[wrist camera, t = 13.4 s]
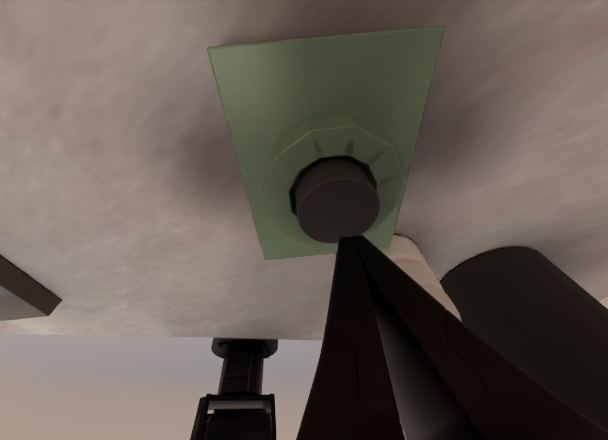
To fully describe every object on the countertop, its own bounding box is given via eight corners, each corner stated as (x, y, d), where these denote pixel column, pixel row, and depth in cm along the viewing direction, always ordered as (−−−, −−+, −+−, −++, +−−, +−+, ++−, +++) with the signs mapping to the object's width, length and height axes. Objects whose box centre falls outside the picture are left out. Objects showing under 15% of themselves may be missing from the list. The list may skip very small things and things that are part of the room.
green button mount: (379, 227, 18) (400, 267, 15) (266, 239, 18) (262, 282, 14) (418, 27, 10) (479, 22, 7) (218, 45, 10) (190, 48, 7)
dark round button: (364, 217, 12) (374, 240, 11) (298, 224, 12) (300, 247, 11) (372, 154, 10) (386, 172, 9) (291, 162, 10) (293, 182, 9)
